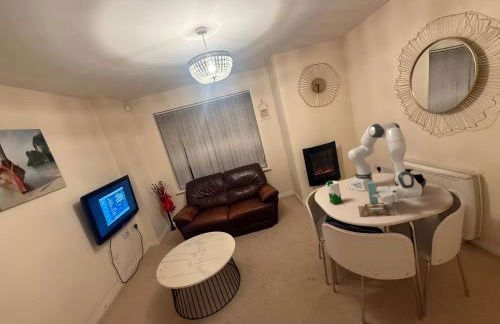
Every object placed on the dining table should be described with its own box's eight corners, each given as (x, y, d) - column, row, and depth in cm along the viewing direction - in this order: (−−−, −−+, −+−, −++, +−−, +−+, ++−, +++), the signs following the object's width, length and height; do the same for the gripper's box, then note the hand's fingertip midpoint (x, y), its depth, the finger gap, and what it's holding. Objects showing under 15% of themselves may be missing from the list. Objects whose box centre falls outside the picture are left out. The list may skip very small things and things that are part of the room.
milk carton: (328, 202, 191) (324, 180, 188) (338, 199, 192) (334, 177, 189) (334, 205, 183) (329, 183, 179) (343, 202, 184) (339, 180, 180)
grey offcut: (383, 212, 152) (382, 207, 152) (383, 214, 150) (383, 208, 150) (370, 213, 155) (369, 208, 155) (370, 214, 154) (369, 209, 153)
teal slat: (378, 207, 160) (374, 181, 157) (379, 209, 158) (375, 182, 154) (371, 207, 162) (367, 182, 159) (371, 209, 160) (367, 183, 156)
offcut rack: (391, 205, 161) (390, 200, 160) (397, 217, 145) (396, 211, 144) (358, 207, 170) (357, 202, 169) (360, 219, 154) (359, 213, 153)
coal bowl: (407, 185, 185) (404, 164, 182) (433, 190, 166) (431, 167, 163) (390, 193, 179) (387, 171, 176) (415, 199, 160) (413, 175, 157)
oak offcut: (383, 210, 155) (382, 203, 154) (384, 211, 153) (383, 204, 153) (368, 211, 159) (367, 204, 158) (368, 212, 157) (367, 205, 157)
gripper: (390, 183, 162) (368, 185, 167) (396, 194, 143) (373, 196, 149) (391, 191, 163) (370, 193, 168) (398, 203, 144) (374, 204, 150)
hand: (371, 194), depth 158 cm, fingers closed on teal slat, 2 cm apart
